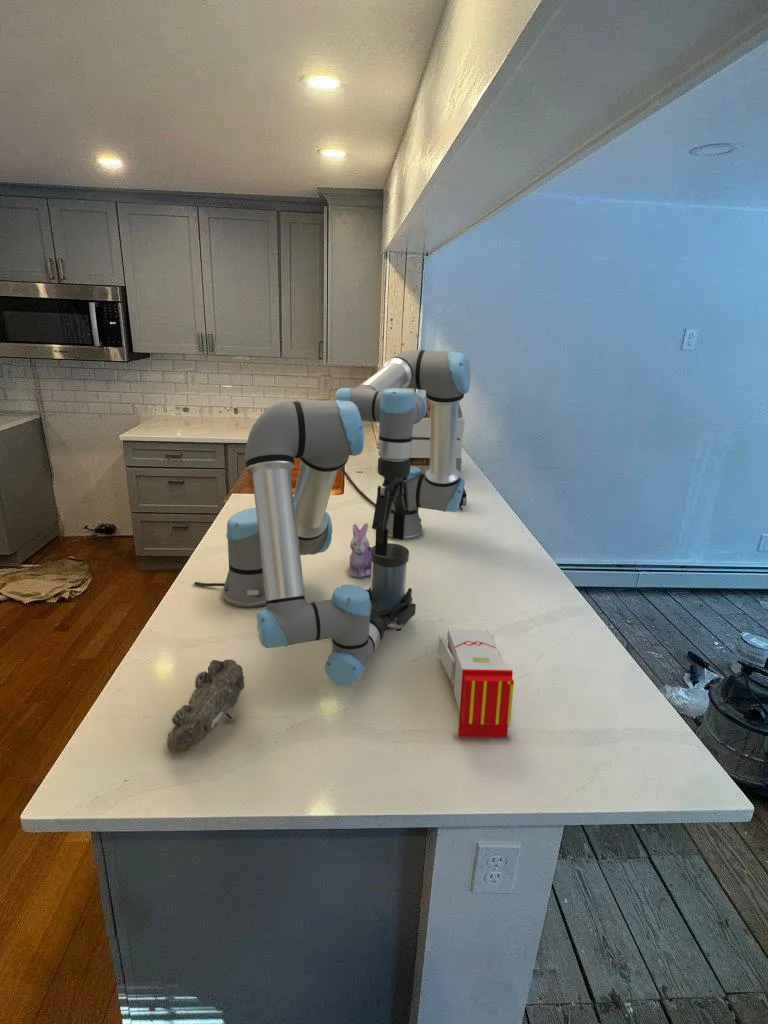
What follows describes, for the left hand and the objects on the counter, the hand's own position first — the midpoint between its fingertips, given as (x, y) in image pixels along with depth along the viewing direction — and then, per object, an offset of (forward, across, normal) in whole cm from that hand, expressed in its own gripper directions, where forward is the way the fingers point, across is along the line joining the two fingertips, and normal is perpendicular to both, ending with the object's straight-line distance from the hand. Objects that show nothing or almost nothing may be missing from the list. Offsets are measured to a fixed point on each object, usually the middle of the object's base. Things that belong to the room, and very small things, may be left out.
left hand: (392, 589), depth 147 cm
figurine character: (+91, +2, -6) cm, 91 cm away
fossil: (-51, -21, -6) cm, 55 cm away
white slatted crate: (+133, -24, -6) cm, 135 cm away
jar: (-5, 0, -6) cm, 8 cm away
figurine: (+19, -15, -6) cm, 25 cm away
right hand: (-5, 0, +14) cm, 15 cm away
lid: (-5, 0, +13) cm, 13 cm away
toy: (-26, +24, -6) cm, 36 cm away
